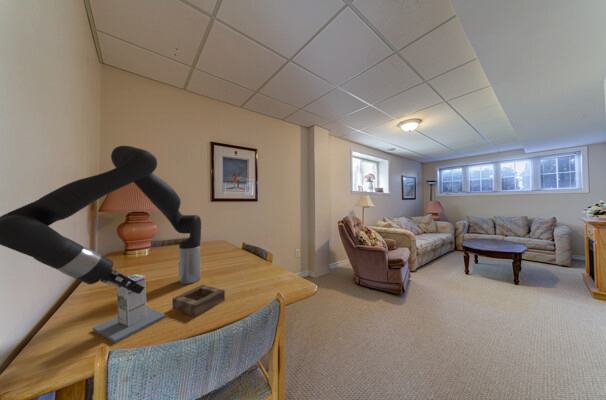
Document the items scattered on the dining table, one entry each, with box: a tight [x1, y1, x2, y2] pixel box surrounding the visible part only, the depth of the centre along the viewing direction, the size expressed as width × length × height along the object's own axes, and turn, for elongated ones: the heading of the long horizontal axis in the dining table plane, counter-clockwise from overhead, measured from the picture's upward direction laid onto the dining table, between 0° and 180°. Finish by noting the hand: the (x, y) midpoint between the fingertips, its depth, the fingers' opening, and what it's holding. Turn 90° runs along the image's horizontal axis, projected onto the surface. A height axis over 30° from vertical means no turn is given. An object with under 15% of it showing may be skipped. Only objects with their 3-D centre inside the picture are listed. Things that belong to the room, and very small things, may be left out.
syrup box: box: [116, 273, 147, 327], centre depth 67 cm, size 6×6×14 cm
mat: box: [92, 306, 167, 345], centre depth 67 cm, size 14×14×1 cm
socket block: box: [172, 284, 226, 318], centre depth 79 cm, size 13×13×4 cm
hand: (134, 288), depth 68 cm, fingers open, 8 cm apart
